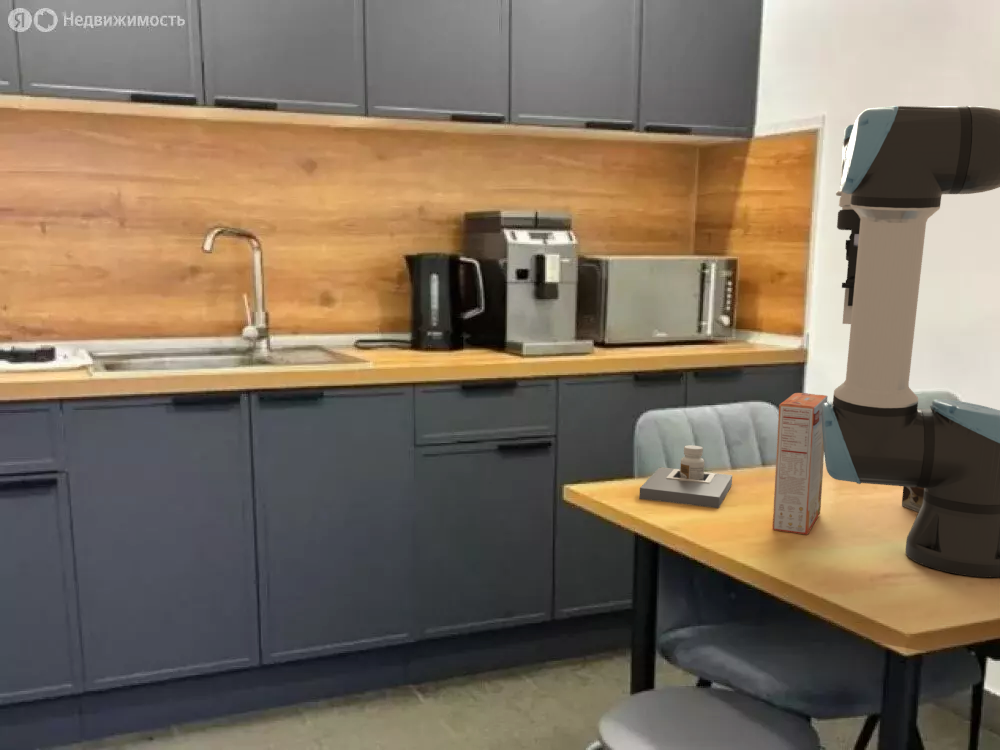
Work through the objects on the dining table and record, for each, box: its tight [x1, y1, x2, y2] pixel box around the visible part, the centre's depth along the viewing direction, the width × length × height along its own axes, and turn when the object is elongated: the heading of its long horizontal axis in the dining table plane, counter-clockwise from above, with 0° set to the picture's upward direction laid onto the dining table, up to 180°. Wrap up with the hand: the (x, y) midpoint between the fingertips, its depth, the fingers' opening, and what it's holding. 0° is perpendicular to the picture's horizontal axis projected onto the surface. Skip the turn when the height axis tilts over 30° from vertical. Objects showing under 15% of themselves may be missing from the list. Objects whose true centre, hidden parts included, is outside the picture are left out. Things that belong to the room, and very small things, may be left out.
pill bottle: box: [679, 444, 705, 481], centre depth 178 cm, size 4×4×8 cm
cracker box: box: [772, 392, 828, 535], centre depth 155 cm, size 14×6×21 cm, turn 153°
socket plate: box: [638, 466, 733, 509], centre depth 175 cm, size 18×14×2 cm
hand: (850, 321), depth 180 cm, fingers open, 13 cm apart
